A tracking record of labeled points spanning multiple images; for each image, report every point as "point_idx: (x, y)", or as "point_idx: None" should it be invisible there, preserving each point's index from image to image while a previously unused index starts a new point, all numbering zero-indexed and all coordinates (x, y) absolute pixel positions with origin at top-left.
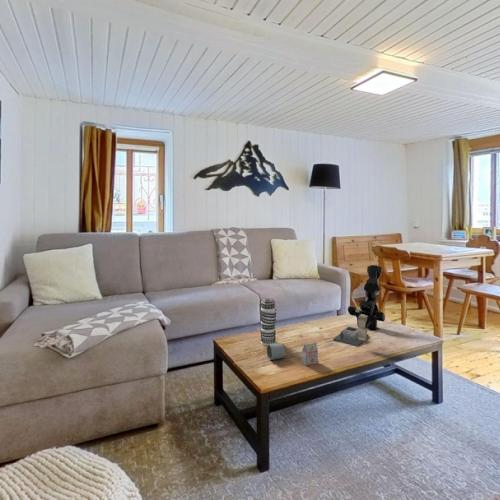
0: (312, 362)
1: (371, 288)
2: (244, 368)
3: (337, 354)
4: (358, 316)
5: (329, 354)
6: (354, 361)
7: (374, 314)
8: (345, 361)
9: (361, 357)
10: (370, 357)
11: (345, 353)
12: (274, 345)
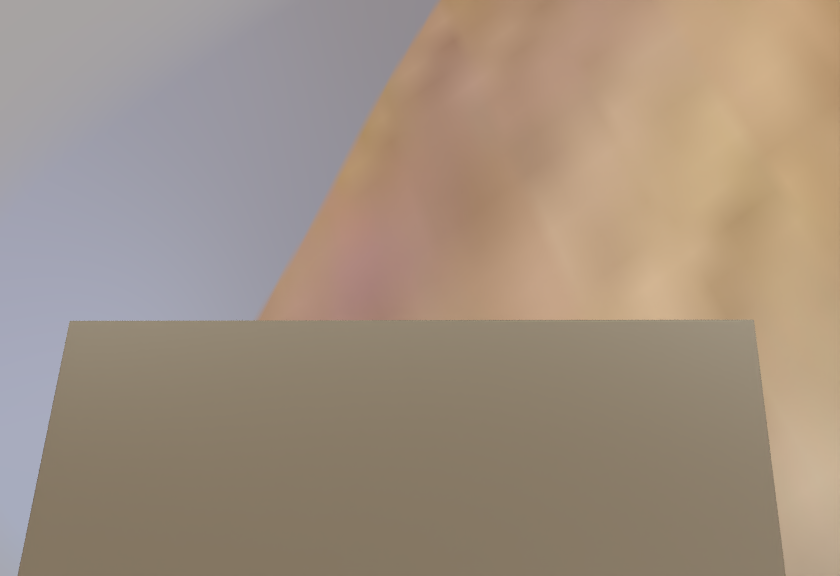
0: None
1: None
2: None
3: (704, 111)
4: (739, 324)
5: (791, 48)
6: (438, 72)
7: None
8: (527, 10)
9: (402, 222)
10: (302, 294)
11: (630, 205)
12: None
